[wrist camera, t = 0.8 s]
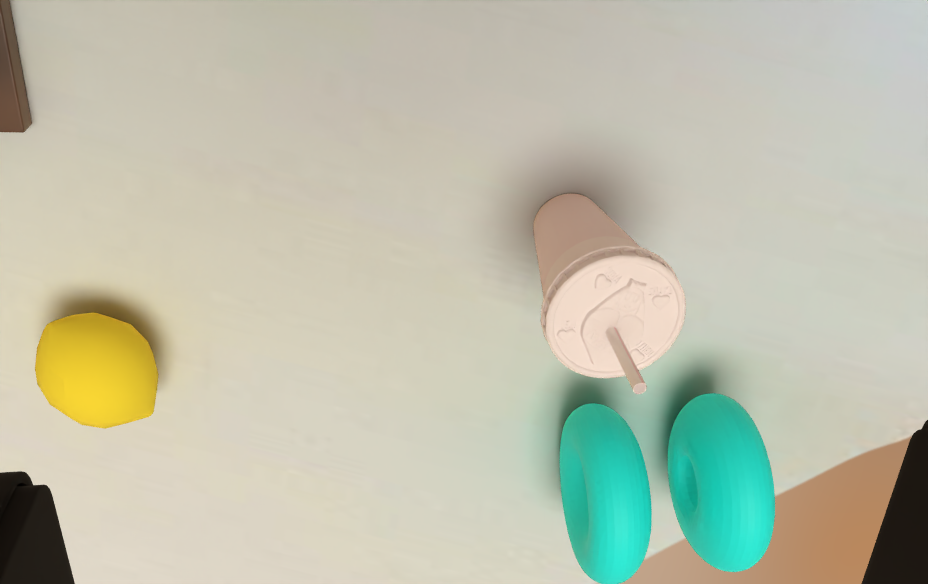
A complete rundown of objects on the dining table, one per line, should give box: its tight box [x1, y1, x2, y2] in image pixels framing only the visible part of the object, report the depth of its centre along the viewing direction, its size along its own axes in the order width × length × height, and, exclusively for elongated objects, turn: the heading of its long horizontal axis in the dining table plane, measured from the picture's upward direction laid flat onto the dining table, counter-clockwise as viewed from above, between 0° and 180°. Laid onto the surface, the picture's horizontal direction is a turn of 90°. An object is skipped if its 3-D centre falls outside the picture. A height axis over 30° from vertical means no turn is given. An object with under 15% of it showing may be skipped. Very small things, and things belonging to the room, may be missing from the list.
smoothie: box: [533, 193, 686, 394], centre depth 41 cm, size 6×6×14 cm
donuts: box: [560, 393, 775, 584], centre depth 50 cm, size 10×10×10 cm
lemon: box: [35, 312, 158, 428], centre depth 45 cm, size 7×5×5 cm
